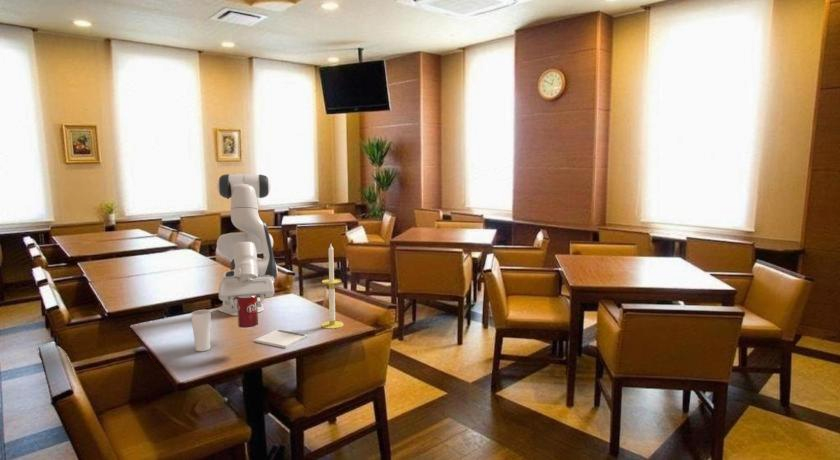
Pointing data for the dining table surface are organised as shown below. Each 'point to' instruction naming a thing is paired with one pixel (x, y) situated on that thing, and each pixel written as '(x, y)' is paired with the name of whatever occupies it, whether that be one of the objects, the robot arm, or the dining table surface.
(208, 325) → the drinking glass
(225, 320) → the dining table surface
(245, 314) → the soda can
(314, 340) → the dining table surface
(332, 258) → the candle
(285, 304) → the dining table surface
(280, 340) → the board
